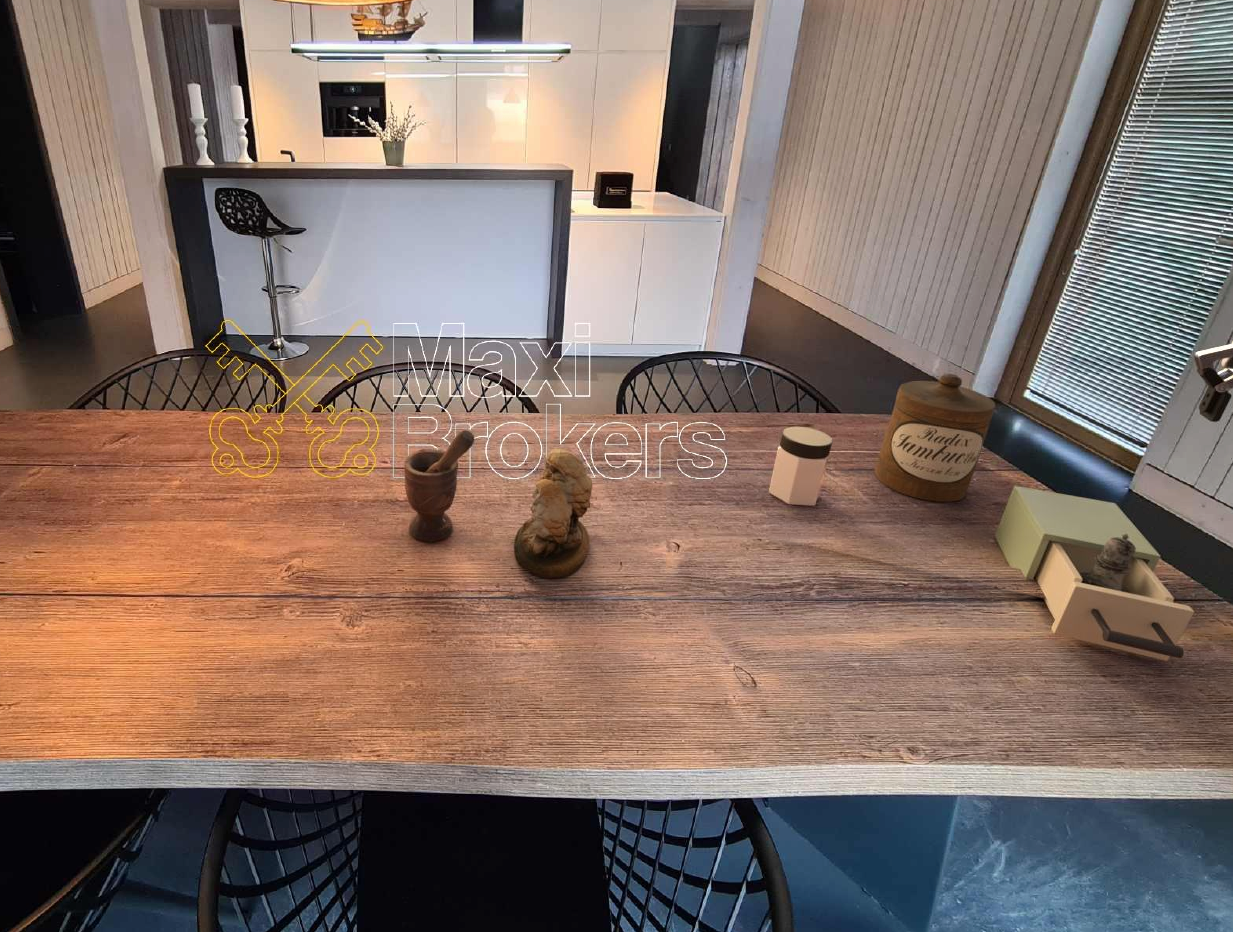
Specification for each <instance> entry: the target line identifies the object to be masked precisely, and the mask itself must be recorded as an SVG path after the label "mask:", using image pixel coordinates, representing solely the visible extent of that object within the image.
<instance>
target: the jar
mask: <svg viewBox="0 0 1233 932" xmlns="http://www.w3.org/2000/svg"><path fill="white" fill-rule="evenodd" d="M832 447H833V439H832V438H831V436H829V435H828V434H827V433H825V432H823V431H821V430H818V429H815V428H811V427H807V426H805V427H804V426H789V427H786V428H784V429H783V430H782V432H781V435H780V441H779V446H778V448H777V451H776V455H775V456H776V457H775V461H774V465H773V470H772V475H771V479H770V485H769V489H768V493H769V494H770V495H772V496H774V497H775V498H777V499H779V500H780V501H782V502H784V503H785V504H787V505H791V506H792V505H793V506H811V507H814V506H816V503H817V501H818V499H819V497H820V494H821V489H822V486H823V482H824V478H825V474H826V470H827V465H828V462H829V457H830V455H831V449H832Z"/></svg>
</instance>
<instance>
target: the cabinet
mask: <svg viewBox="0 0 1233 932" xmlns="http://www.w3.org/2000/svg"><path fill="white" fill-rule="evenodd" d="M1124 534H1127V535H1128V537H1129V538H1127V540H1129V541H1130V542H1131V543H1133V544H1134V546H1135V548H1136V550H1135V552H1134V555H1133V557H1138V558H1142V559H1143V561H1144V562H1145V563H1146V564H1147V566H1148V567H1149V568H1150V569H1151V571H1152V572H1153V573H1154V572H1155V569H1156V567H1157V566H1158V563H1159V560H1160V559H1161V557H1162V556H1161V554H1159V552H1158V551H1157V550H1156V549H1155V548H1154V546H1153V545H1152V544H1151V543H1150V542H1149V541H1148V540H1147V539H1146V538H1145V536H1144V534H1142V533H1141V531H1139V529H1138V528H1137V527H1136V526H1135V525H1134V524H1133V522H1132V521H1131V520H1130V519H1129V518H1128V516H1127V515H1126V514H1125V513H1124V512H1123V510H1121V508H1120V507H1119V506H1118V505H1117V504H1116V503H1115V502H1109V501H1104V500H1100V499H1093V498H1087V497H1081V496H1076V495H1069V494H1064V493H1059V492H1052V491H1048V490H1041V489H1036V488H1030V487H1025V486H1019V485H1013V488H1012V491H1011V493H1010V495H1009V498H1008V501H1007V503H1006V506H1005V509H1004V511H1003V513H1002V517H1001V518H1000V522H999V524H998V527H997V530H996V532H995V535H994V538H995V540H996V541H997V543H998V546H999V547H1000V550H1001V552H1002V553H1003V556H1004V557H1005V559H1006V562H1007V564H1008V565H1009V567H1010V568H1013V569H1017V570H1020V571H1021V573H1022V574H1023V577H1024V579H1026V580H1031V581H1034V578H1035V573H1036V571H1037V569H1038V566H1039V564H1040V562H1041V559H1042V557H1043V554H1044V552H1045V550H1046V547H1047V545H1048V543H1049V540H1052V541H1057V542H1062V543H1067V544H1072V545H1077V546H1082V547H1087V548H1092V549H1097V550H1102V551H1103V549H1104V547H1105V545H1106V542H1107V541H1108V540H1109V539H1110V538H1113V537H1120V538H1122V535H1124Z"/></svg>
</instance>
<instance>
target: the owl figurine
mask: <svg viewBox="0 0 1233 932" xmlns="http://www.w3.org/2000/svg"><path fill="white" fill-rule="evenodd" d="M586 469H587V468H586V466H585V465H584V463H583V461H582V460H581V459H580V458H579V457H578V456H577V455H576V454H574V453H573V452H570V451H568V450H566V449H564V448H556V449H552V450H551V451H549V452H548V455H547V456H546V458H545V464H544V469H543V470H542V473H541V474H540V477H539V480H538V481H537V482H536V484H535V486H534V489H533V491H532V499H533V502H531V503H530V505H529V509H530V511H531V518H529V519H527V520H526V521H525V522H524V523H523V524H522V525H521V526H520V528H519V529H518V531H517V532H516V534H515V536H514V537H515V538H514V542H513V552H514V556H515V559H516V561H517V563H518V564H519V566H521V568H523V569H524V570H525V572H527V573H529V574H530V575H532V576H535V577H538V578H541V579H547V580H557V579H564V578H567V577H569V576H571V575H573V574H575V573H576V572H577V571H578V570H579V569H580V568H581V567H582V566H583V565H584V563H585V562H586V559H587V557H588V554H589V548H590V537H589V533H588V530H587V529H586V527H585V525H584V524H583V523H582V522H581V521H580V518H583V517H584V515H585V514H586V513H587V511H588V509H589V508H591V497H592V491H593V480H592V478H591V477H590V476H589V475H588V473H587V470H586Z"/></svg>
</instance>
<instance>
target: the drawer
mask: <svg viewBox="0 0 1233 932" xmlns="http://www.w3.org/2000/svg"><path fill="white" fill-rule="evenodd" d="M1101 553H1102V550H1097V549H1092V548H1087V547H1082V546H1077V545H1072V544H1067V543H1062V542H1057V541H1052V540H1049V543H1048V545H1047V547H1046V550H1045V552H1044V554H1043V557H1042V559H1041V562H1040V564H1039V566H1038V569H1037V571H1036V573H1035V576H1034V578H1035V580H1036V582H1037V583H1038V585H1039V587H1040V589H1041V591H1042V592H1043V594H1044V596H1045V597H1042V598H1043V601H1044V602H1045V604H1046V606H1047V608H1048V610H1049V612H1050V614H1051V615H1052V617H1053V619H1054V621H1053V623H1052V625H1051V628H1050V629H1051V631H1052V633H1053V634H1054V635H1057V636H1061V637H1065V638H1068V639H1069V638H1070V639H1073V640H1078V641H1080V642H1081V641H1082V642H1085V643H1090V644H1094V645H1099V646H1103V647H1107V648H1111V649H1116V650H1118V651H1119V650H1120V651H1124V652H1127V653H1132V654H1136V655H1141V656H1144V657H1149V658H1152V659H1157V660H1161V661H1166V662H1168V660H1169V659H1170V657H1171V658H1176V659H1182V658H1183V657H1184V653H1185V651H1184V648H1183V646H1180V645H1178V642H1179V640H1180V639H1181V637H1182V636H1183V633H1184V632H1185V630H1186V628H1187V626H1188V624H1189V623H1190V621H1191V619H1192V617H1193V615H1194V613H1195V610H1193V608H1192V607H1191V606H1190V605H1187V604H1182V603H1179V602H1174V600H1175V598H1174V595H1172V594H1171V593H1170V592H1169V590H1168V589H1167V588H1166V586H1165V585H1164V584H1163V582H1162V581H1161V580H1160V578H1158V576H1157V575H1156V574H1155V573H1154V571H1153V572H1152V571H1151V569H1150V568H1149V567H1148V566H1147V564H1146V563H1145V562H1144V561H1143V559H1142V558H1138V557H1132V559H1131V561H1130V563H1129V566H1130V567H1131V570H1130V571H1129V572H1126V573H1125V575H1124V577H1123V579H1122V586H1124V587H1125V588H1126V589H1127V590H1128V591H1129V592H1130V593H1126V592H1121V591H1117V590H1112V589H1107V588H1103V587H1098V586H1093V585H1089V584H1084V583H1081V582H1082V580H1083V579H1082V577H1081V576H1080V574H1079V573H1090V572H1091V571H1092V570H1093V569H1094V567H1095V564H1096V562H1097V561H1096V559H1095V557H1096V556H1097V555H1101Z"/></svg>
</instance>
